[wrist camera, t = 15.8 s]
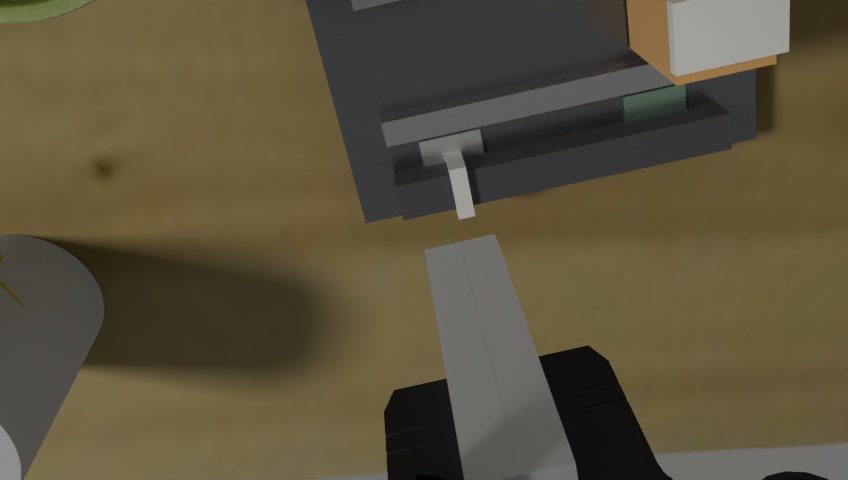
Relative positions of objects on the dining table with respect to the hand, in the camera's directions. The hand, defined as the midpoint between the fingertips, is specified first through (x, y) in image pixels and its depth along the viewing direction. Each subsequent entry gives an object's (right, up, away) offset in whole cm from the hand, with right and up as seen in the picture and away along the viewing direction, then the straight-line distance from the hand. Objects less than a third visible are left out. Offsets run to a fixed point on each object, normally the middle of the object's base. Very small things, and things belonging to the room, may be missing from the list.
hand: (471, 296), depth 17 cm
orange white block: (+10, +12, +19) cm, 25 cm away
